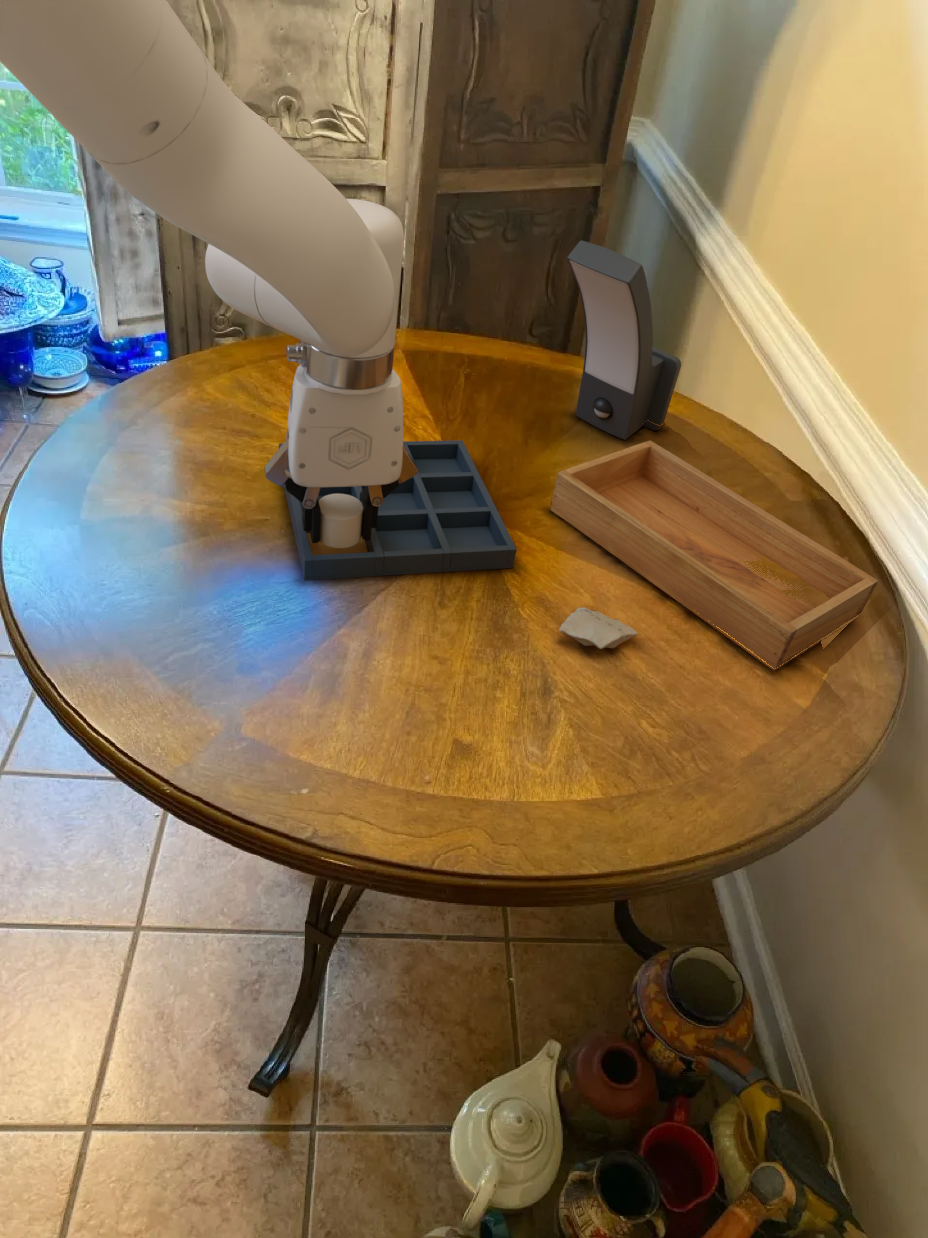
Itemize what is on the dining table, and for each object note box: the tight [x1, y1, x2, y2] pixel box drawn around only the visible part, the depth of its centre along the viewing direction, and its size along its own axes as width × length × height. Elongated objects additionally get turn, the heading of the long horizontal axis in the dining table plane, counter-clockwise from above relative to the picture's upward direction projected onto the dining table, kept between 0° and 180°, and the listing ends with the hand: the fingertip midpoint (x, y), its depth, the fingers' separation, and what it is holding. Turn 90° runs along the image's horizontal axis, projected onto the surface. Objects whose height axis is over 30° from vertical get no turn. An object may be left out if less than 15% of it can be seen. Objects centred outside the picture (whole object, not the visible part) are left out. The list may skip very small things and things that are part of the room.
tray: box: [550, 440, 879, 671], centre depth 96 cm, size 31×15×6 cm, turn 39°
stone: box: [558, 606, 639, 650], centre depth 86 cm, size 6×2×6 cm
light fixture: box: [566, 240, 682, 441], centre depth 110 cm, size 11×17×24 cm, turn 140°
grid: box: [278, 439, 518, 581], centre depth 97 cm, size 21×21×2 cm
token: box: [319, 494, 363, 548], centre depth 88 cm, size 4×4×3 cm
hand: (339, 532), depth 89 cm, fingers closed on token, 4 cm apart
